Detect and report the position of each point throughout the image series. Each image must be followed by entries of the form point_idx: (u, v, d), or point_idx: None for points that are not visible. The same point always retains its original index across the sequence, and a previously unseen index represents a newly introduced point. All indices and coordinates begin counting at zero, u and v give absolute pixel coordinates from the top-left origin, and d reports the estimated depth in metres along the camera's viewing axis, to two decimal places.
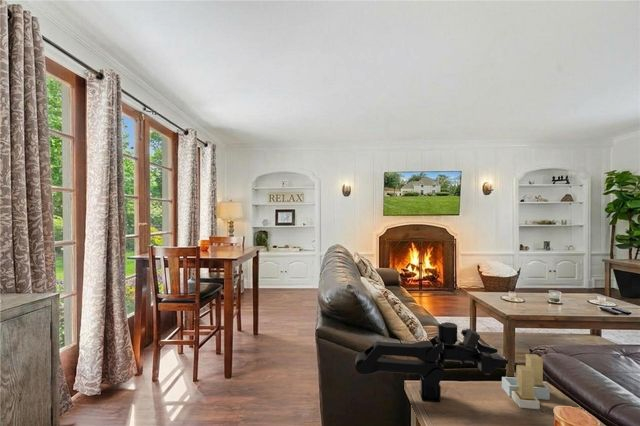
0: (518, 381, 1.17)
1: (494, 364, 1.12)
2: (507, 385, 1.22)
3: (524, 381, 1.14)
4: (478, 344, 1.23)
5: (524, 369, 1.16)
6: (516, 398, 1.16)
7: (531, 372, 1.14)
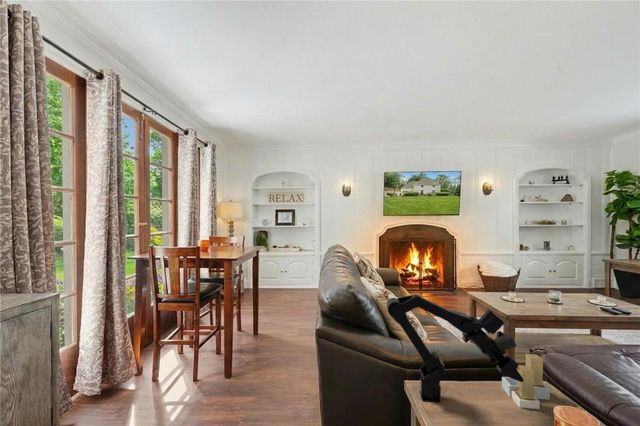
0: (518, 381, 1.17)
1: (512, 373, 1.12)
2: (507, 385, 1.22)
3: (524, 381, 1.14)
4: None
5: (524, 369, 1.16)
6: (516, 398, 1.16)
7: (531, 372, 1.14)
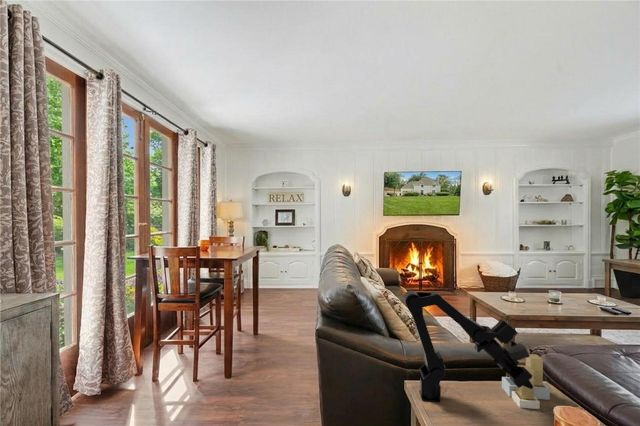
0: None
1: None
2: (507, 385, 1.22)
3: None
4: None
5: None
6: (516, 398, 1.16)
7: (531, 372, 1.14)
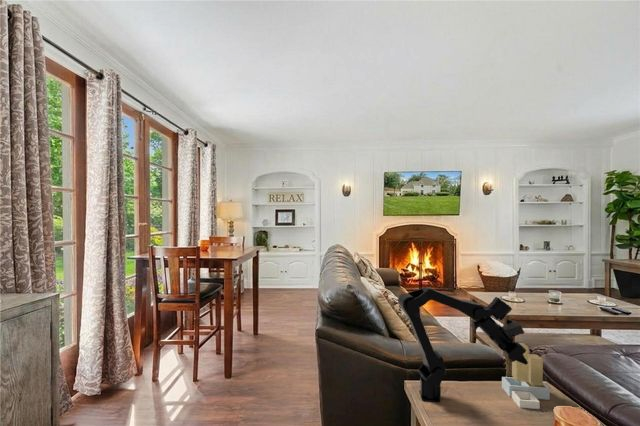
0: None
1: None
2: (507, 385, 1.22)
3: None
4: (511, 341, 1.23)
5: None
6: (516, 398, 1.16)
7: (526, 348, 1.18)
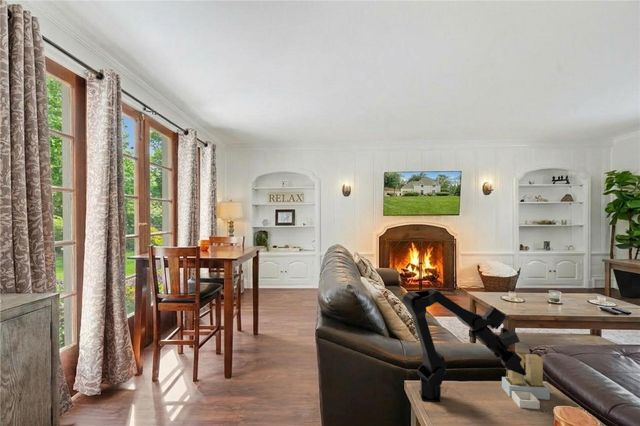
0: None
1: (515, 367, 1.18)
2: (507, 385, 1.22)
3: None
4: None
5: None
6: (516, 398, 1.16)
7: None
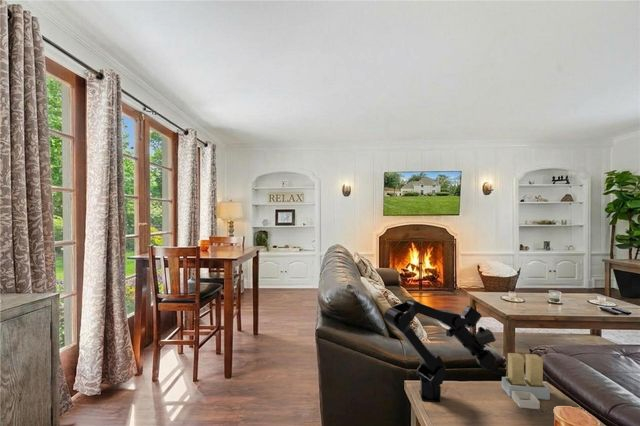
0: (509, 368, 1.24)
1: (490, 366, 1.19)
2: (507, 385, 1.22)
3: (515, 367, 1.21)
4: None
5: (514, 356, 1.22)
6: (516, 398, 1.16)
7: (521, 359, 1.21)
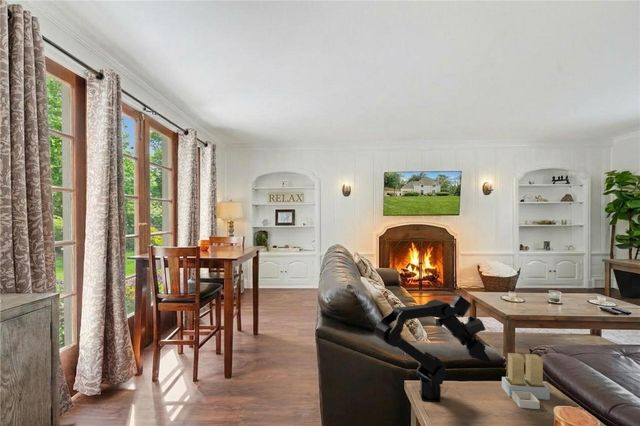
0: (509, 368, 1.24)
1: (480, 355, 1.17)
2: (507, 385, 1.22)
3: (515, 367, 1.21)
4: None
5: (514, 356, 1.22)
6: (516, 398, 1.16)
7: (521, 359, 1.21)
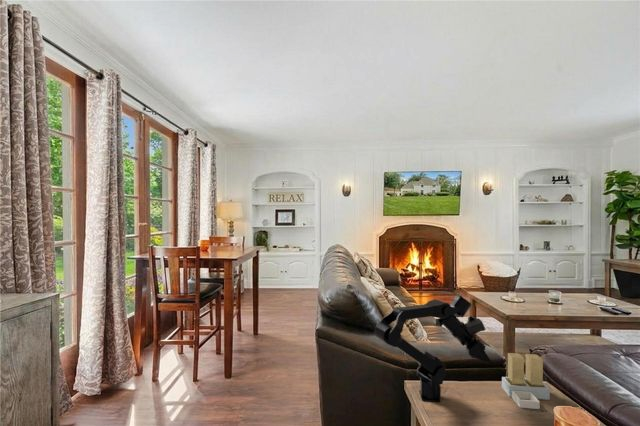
0: (509, 368, 1.24)
1: (480, 355, 1.17)
2: (507, 385, 1.22)
3: (515, 367, 1.21)
4: None
5: (514, 356, 1.22)
6: (516, 398, 1.16)
7: (521, 359, 1.21)
